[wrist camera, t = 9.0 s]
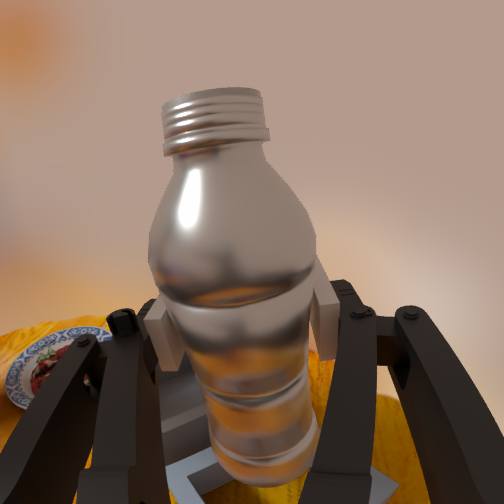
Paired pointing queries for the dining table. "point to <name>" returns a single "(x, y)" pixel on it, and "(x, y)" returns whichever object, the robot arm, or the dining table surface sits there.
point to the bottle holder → (214, 475)
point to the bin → (182, 413)
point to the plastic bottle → (238, 283)
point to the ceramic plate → (43, 362)
